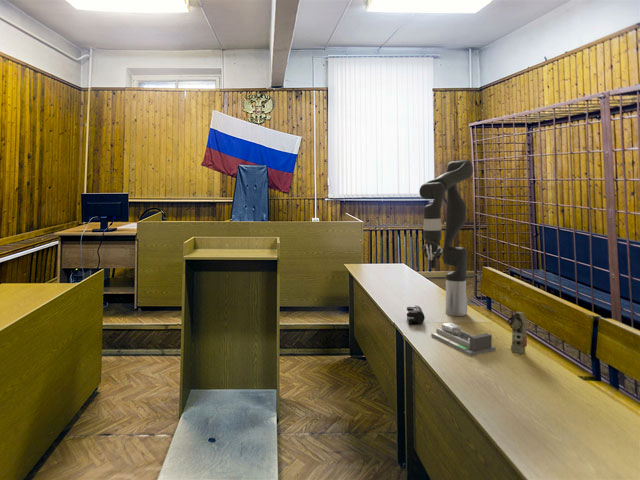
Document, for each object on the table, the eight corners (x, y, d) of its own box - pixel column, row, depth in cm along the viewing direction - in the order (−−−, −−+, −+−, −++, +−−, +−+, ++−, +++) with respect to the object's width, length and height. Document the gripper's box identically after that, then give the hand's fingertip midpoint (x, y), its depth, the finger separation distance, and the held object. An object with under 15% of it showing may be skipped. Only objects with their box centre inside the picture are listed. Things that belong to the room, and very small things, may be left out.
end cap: (424, 326, 167) (424, 311, 166) (408, 325, 168) (408, 311, 167) (421, 319, 177) (421, 305, 176) (406, 318, 178) (406, 305, 177)
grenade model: (502, 350, 138) (503, 311, 136) (520, 349, 138) (521, 310, 137) (513, 357, 131) (514, 316, 130) (531, 356, 132) (533, 315, 131)
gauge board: (454, 331, 158) (454, 317, 158) (495, 350, 138) (496, 334, 137) (431, 336, 154) (431, 321, 153) (470, 356, 134) (470, 339, 133)
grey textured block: (450, 331, 155) (450, 322, 155) (463, 337, 148) (463, 327, 148) (441, 333, 153) (441, 323, 153) (454, 339, 146) (454, 329, 146)
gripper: (449, 229, 157) (449, 269, 159) (429, 227, 169) (429, 264, 171) (435, 230, 154) (435, 271, 156) (415, 228, 166) (416, 266, 168)
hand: (432, 268), depth 163 cm, fingers closed
